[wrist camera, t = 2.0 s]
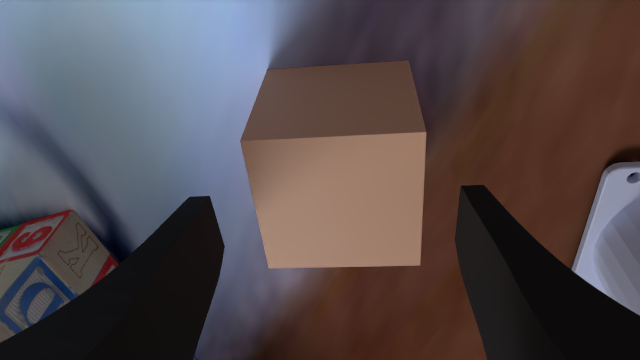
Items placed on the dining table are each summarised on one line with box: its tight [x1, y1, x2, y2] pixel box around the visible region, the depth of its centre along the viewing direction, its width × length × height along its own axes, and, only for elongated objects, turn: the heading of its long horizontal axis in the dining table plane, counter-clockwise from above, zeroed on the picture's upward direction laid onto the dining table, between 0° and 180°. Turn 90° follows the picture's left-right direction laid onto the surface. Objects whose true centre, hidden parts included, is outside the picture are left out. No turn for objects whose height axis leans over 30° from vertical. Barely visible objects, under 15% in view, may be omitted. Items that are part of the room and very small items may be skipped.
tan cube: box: [240, 60, 426, 268], centre depth 16 cm, size 5×5×5 cm
